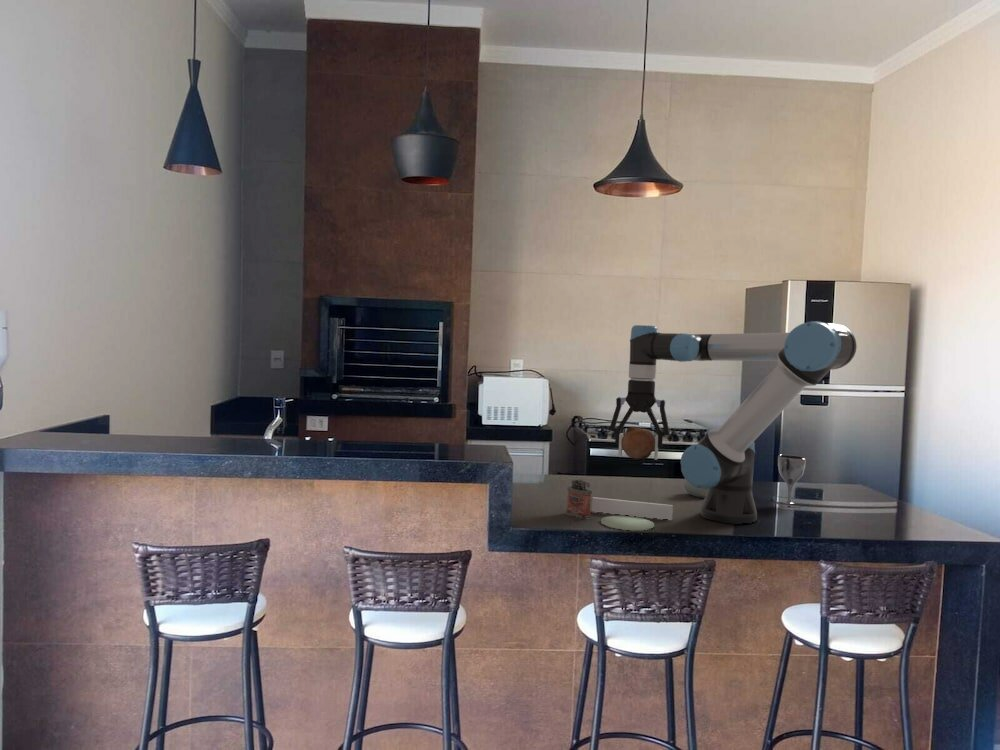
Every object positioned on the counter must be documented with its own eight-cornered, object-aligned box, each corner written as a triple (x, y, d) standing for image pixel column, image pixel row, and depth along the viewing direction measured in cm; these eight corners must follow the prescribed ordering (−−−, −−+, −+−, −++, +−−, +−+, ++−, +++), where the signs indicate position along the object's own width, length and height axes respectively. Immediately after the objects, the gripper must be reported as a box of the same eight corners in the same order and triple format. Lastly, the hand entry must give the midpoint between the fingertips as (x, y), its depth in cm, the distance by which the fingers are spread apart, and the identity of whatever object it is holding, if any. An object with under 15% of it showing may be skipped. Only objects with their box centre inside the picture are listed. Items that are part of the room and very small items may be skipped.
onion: (624, 468, 226) (609, 436, 226) (644, 456, 232) (630, 425, 232) (647, 461, 218) (632, 428, 219) (667, 449, 224) (653, 417, 225)
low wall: (672, 519, 217) (672, 505, 216) (671, 520, 215) (672, 506, 215) (592, 511, 223) (593, 497, 222) (591, 512, 221) (592, 497, 221)
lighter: (563, 513, 218) (565, 477, 217) (572, 512, 220) (573, 476, 220) (584, 519, 212) (586, 483, 211) (593, 518, 214) (594, 482, 214)
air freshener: (708, 492, 256) (709, 462, 255) (724, 498, 248) (726, 466, 247) (679, 493, 252) (681, 462, 251) (694, 499, 244) (696, 467, 243)
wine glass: (803, 509, 237) (806, 459, 236) (775, 506, 239) (778, 457, 238) (802, 503, 244) (805, 455, 243) (775, 500, 247) (778, 453, 246)
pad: (656, 520, 214) (656, 519, 214) (651, 533, 201) (651, 531, 201) (604, 515, 218) (605, 513, 218) (597, 527, 205) (597, 525, 205)
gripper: (682, 380, 225) (678, 458, 226) (604, 376, 231) (601, 452, 232) (680, 382, 218) (676, 462, 219) (601, 378, 224) (597, 456, 225)
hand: (637, 457), depth 226 cm, fingers closed on onion, 9 cm apart
